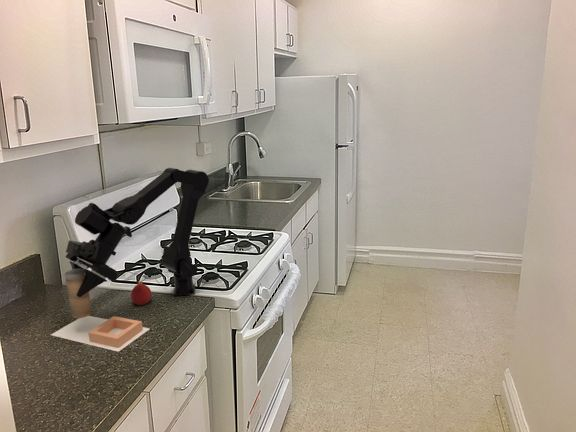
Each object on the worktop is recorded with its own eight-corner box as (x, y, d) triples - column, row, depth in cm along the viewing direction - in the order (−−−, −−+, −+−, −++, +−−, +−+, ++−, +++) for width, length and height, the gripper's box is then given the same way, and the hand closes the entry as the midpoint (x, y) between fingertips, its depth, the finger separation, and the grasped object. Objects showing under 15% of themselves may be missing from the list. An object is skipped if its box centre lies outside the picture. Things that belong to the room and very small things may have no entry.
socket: (114, 324, 135) (113, 316, 134) (142, 329, 131) (141, 321, 130) (89, 341, 126) (88, 332, 126) (118, 347, 123) (117, 338, 122)
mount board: (51, 338, 131) (50, 334, 130) (85, 318, 141) (85, 314, 141) (119, 355, 121) (118, 351, 121) (150, 332, 132) (149, 328, 132)
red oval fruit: (147, 311, 144) (143, 286, 142) (129, 309, 146) (125, 285, 143) (155, 302, 150) (152, 278, 148) (138, 301, 151) (135, 277, 149)
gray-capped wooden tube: (74, 310, 134) (67, 269, 131) (93, 308, 135) (87, 267, 131) (69, 319, 129) (62, 276, 126) (89, 317, 130) (82, 275, 127)
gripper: (66, 222, 134) (32, 272, 130) (100, 234, 122) (64, 290, 117) (98, 241, 142) (66, 289, 137) (132, 255, 130) (99, 308, 125)
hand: (73, 293), depth 129 cm, fingers closed on gray-capped wooden tube, 5 cm apart
